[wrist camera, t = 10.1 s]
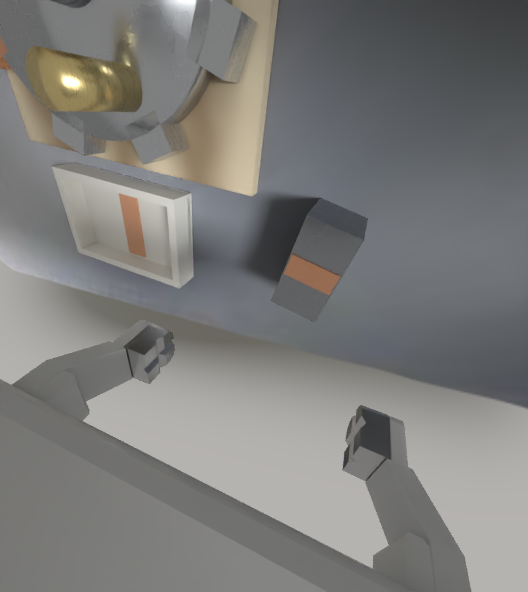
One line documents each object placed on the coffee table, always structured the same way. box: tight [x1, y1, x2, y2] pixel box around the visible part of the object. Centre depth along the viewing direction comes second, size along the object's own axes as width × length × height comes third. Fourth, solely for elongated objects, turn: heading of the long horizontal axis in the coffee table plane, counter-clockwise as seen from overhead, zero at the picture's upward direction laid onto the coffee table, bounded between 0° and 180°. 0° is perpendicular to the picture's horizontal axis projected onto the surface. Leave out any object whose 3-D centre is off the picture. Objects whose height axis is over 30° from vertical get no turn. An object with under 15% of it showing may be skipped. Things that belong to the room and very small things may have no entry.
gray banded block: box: [271, 198, 368, 322], centre depth 19 cm, size 4×7×4 cm, turn 162°
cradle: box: [52, 163, 194, 289], centre depth 25 cm, size 12×8×2 cm
